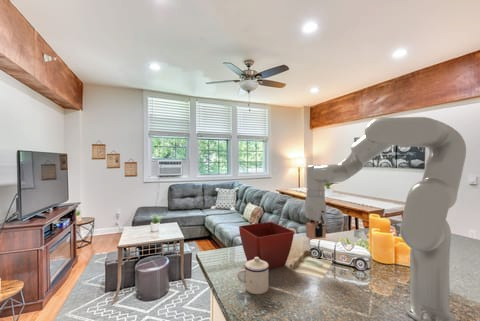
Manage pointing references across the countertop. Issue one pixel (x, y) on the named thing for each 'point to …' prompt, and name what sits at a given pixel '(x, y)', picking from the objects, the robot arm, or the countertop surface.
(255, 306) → the countertop surface
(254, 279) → the teacup with lid
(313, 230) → the rust block
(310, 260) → the cream flat slab
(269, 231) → the plant pot
